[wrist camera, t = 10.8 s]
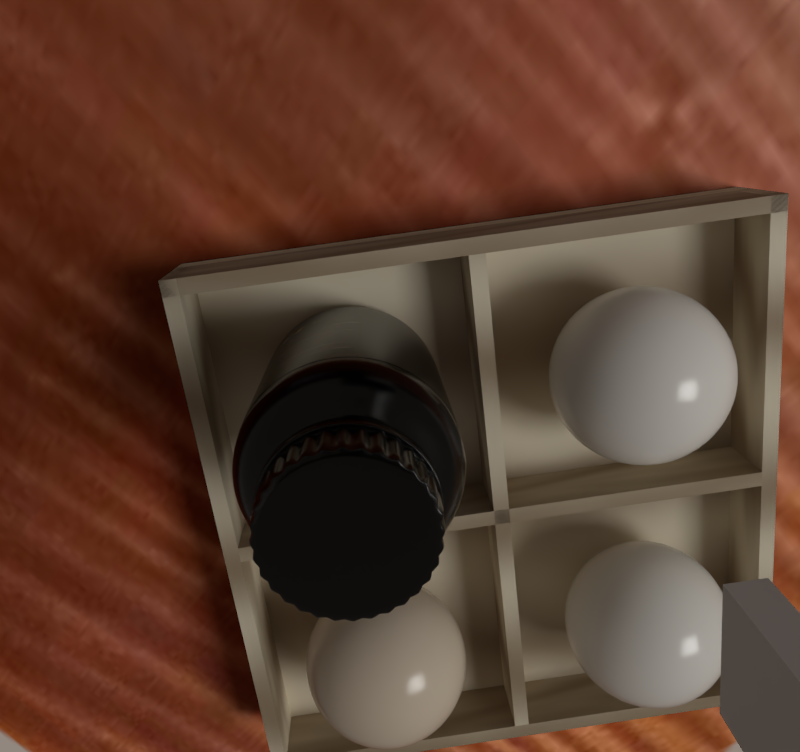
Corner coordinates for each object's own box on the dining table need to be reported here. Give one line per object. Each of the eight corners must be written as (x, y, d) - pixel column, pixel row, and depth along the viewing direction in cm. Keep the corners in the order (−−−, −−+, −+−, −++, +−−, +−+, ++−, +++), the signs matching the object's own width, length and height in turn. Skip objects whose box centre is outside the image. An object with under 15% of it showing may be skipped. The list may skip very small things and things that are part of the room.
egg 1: (299, 559, 31) (286, 661, 25) (446, 538, 31) (469, 634, 25) (323, 679, 33) (316, 800, 27) (461, 659, 33) (485, 775, 27)
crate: (181, 263, 28) (158, 281, 25) (737, 186, 28) (788, 193, 25) (282, 712, 35) (275, 773, 32) (728, 646, 35) (767, 698, 32)
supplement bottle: (470, 406, 29) (541, 575, 18) (331, 492, 30) (314, 705, 19) (376, 265, 27) (388, 353, 16) (230, 362, 28) (143, 511, 17)
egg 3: (542, 523, 31) (588, 616, 25) (688, 502, 31) (768, 589, 25) (552, 645, 33) (596, 758, 27) (689, 625, 34) (763, 733, 27)
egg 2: (525, 283, 28) (572, 323, 22) (688, 260, 28) (780, 294, 22) (536, 434, 30) (582, 510, 24) (688, 413, 30) (773, 482, 24)
